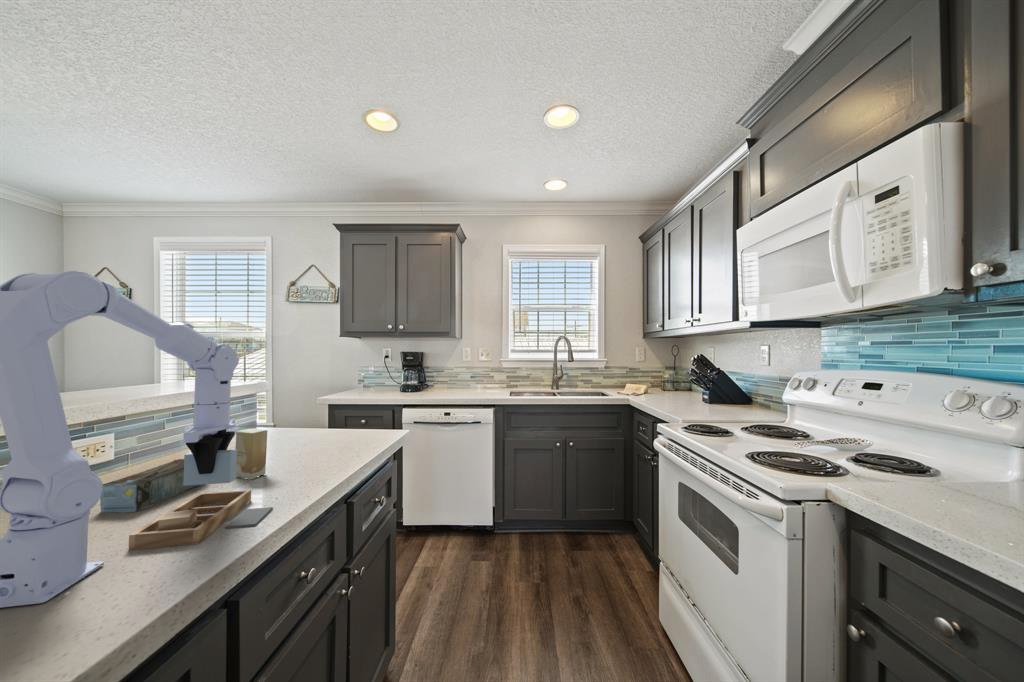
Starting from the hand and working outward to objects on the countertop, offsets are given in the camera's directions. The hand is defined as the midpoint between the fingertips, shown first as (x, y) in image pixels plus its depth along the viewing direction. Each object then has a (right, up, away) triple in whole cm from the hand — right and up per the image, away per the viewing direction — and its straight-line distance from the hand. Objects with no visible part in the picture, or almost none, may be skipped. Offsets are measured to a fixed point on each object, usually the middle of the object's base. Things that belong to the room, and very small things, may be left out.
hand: (210, 471), depth 76 cm
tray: (0, -9, -3) cm, 9 cm away
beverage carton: (-20, -10, +11) cm, 25 cm away
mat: (+9, -9, -1) cm, 13 cm away
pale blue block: (0, -2, 0) cm, 2 cm away
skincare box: (-9, -10, +24) cm, 28 cm away
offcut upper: (+1, -7, -9) cm, 11 cm away
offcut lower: (+1, -9, -9) cm, 13 cm away
